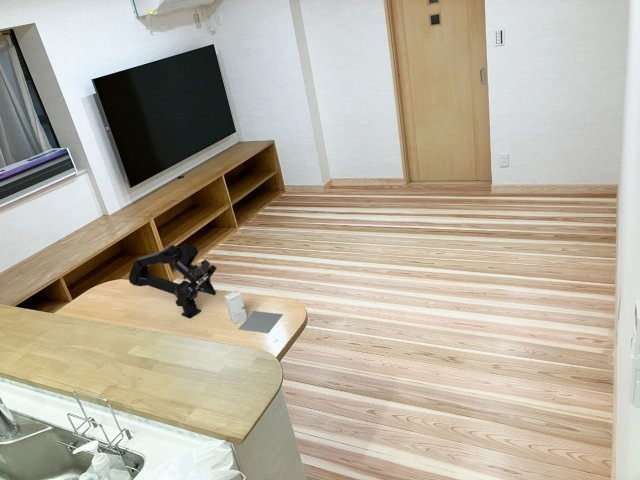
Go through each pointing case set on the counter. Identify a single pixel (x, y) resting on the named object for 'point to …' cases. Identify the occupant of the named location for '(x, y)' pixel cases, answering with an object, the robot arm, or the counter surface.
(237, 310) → the skincare box
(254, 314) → the slate mat
